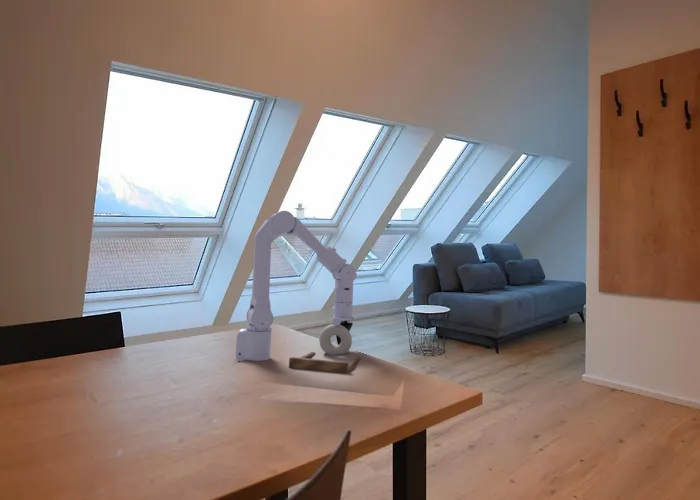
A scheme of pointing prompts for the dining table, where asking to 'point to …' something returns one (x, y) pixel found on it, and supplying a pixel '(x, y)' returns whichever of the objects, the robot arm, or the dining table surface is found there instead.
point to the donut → (339, 331)
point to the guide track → (321, 364)
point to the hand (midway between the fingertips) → (341, 346)
